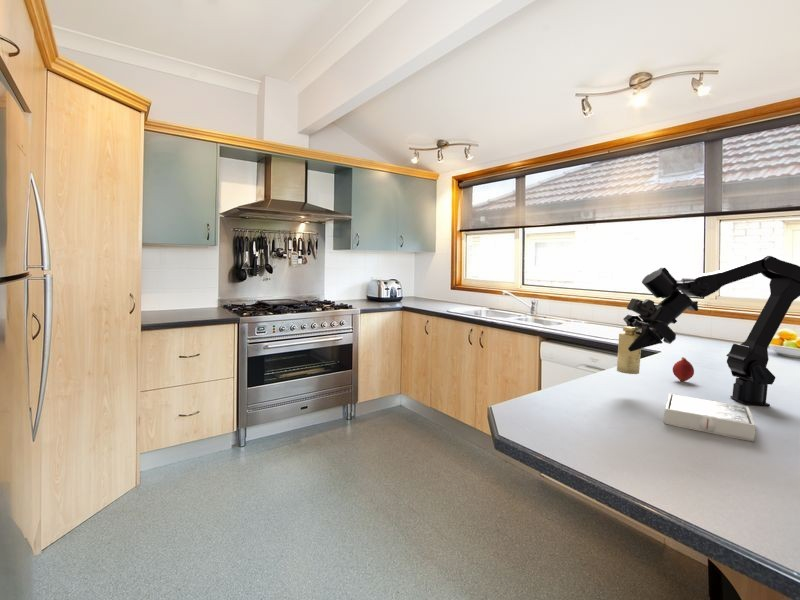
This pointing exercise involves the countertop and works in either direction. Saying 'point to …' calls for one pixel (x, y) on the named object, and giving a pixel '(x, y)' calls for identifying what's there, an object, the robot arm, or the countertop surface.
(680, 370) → the onion
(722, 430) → the scale
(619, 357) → the weight
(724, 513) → the countertop surface
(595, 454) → the countertop surface
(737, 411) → the silver square plate
